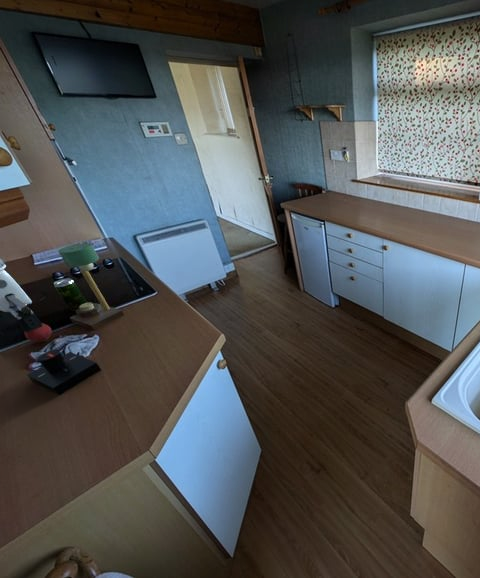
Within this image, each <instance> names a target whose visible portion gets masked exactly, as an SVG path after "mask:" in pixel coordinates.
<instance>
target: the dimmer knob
mask: <svg viewBox="0 0 480 578" xmlns="http://www.w3.org/2000/svg"><path fill="white" fill-rule="evenodd" d="M63 355H64V354H63V353H62V352H61V350H59V349H51V350H49V351H46V352H44V353H42V354H40V355H39V356H38V357H37V361H38V362H39V363H40V364H41V365H42V366H44V368H45V369H46V370H47V371H48V372H55V371H58V370H61V369H62V368H64V367H66V366H67V365H68V361H67V360H66V359H65V357H64V356H63Z"/></svg>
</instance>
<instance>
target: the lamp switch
mask: <svg viewBox="0 0 480 578" xmlns="http://www.w3.org/2000/svg"><path fill="white" fill-rule="evenodd" d="M93 308H94V305H93V302H90V301H89V302H87V303H85V304H82V305H81V306H80V309H81V310H82V311H88V310H91V309H93Z"/></svg>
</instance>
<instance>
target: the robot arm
mask: <svg viewBox="0 0 480 578" xmlns="http://www.w3.org/2000/svg"><path fill="white" fill-rule="evenodd" d="M6 267H7V265H6V264H5V262H4V261H3V260H2V258H1V257H0V319H1V320H2V321H3V322H4V324H6V325H9V326H10V325H13V324H15V323H18V325H19V326H20V327H21V328H22V330H23V331H24V333H25V332H31V331H33V330H35V329H38V328H40V327H42V326H43V324H44V323H43V324H42V321H40V319H39V318H38V316H37V315H36V314H35V313H34V312H33V311H32V309H31V308H29V307H28V305H31V304H32V303H33V301H32V300H31V298H30V297H29V296H28V294H27V293H26V292H25V291H24V290H23V288H21V286H20V285H19V283H18V282H16V280H15V279H14V278H13V277H12V276H11V275H10V274H9V273H8V272H7V271H6V270H5V269H6Z"/></svg>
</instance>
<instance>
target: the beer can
mask: <svg viewBox="0 0 480 578" xmlns="http://www.w3.org/2000/svg"><path fill="white" fill-rule="evenodd" d="M53 285H54V286H53V287H54V288H55V289H56V291H57V293H58V294H59V296H60V297H61V298H62V300H63V302H64V303H65V305H66V306H67V307H68V309H69V310H70V311H73V312H76V310H77V309H79V308H80V306H81V305H82V304H85V303H88V301H87V299H86V298H85V297H84V295H83V293H82V292H81V290H80V289H79V287H78V286H77V284H76V282H75V281H74V280H73V278H70V277H67V278H61V279H58V280H56V281H54V282H53Z"/></svg>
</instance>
